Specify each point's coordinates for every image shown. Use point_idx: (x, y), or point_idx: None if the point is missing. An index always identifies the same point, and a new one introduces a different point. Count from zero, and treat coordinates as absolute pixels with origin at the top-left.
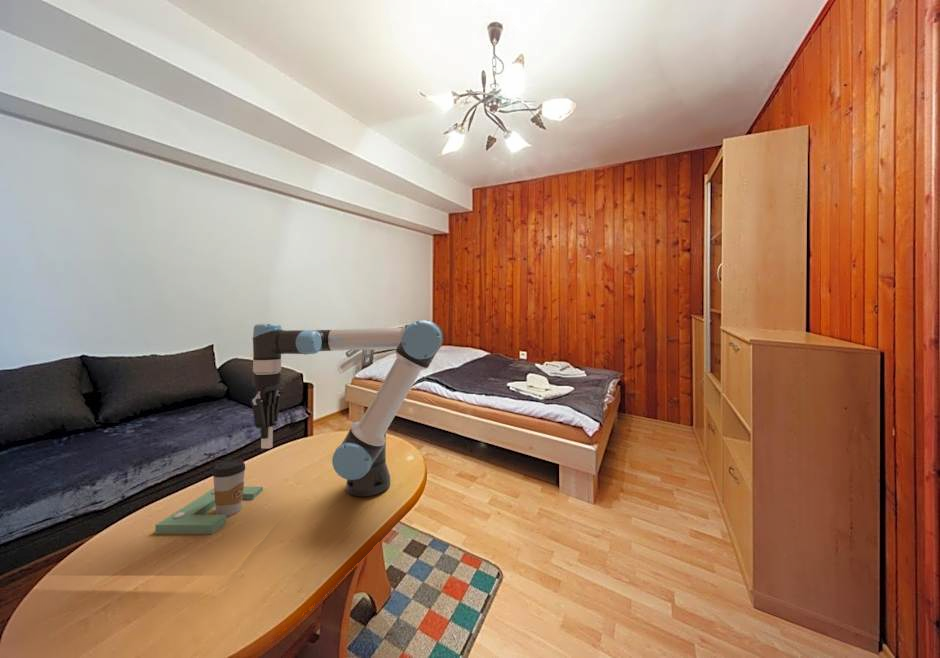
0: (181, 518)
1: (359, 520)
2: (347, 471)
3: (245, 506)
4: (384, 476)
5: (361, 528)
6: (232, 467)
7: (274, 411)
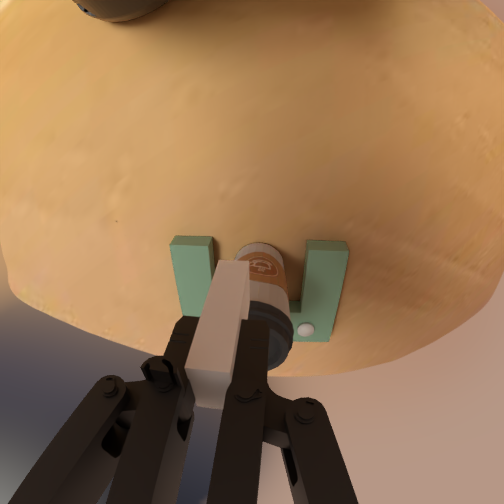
0: (313, 320)
1: None
2: None
3: (235, 241)
4: None
5: None
6: (276, 331)
7: (90, 465)
